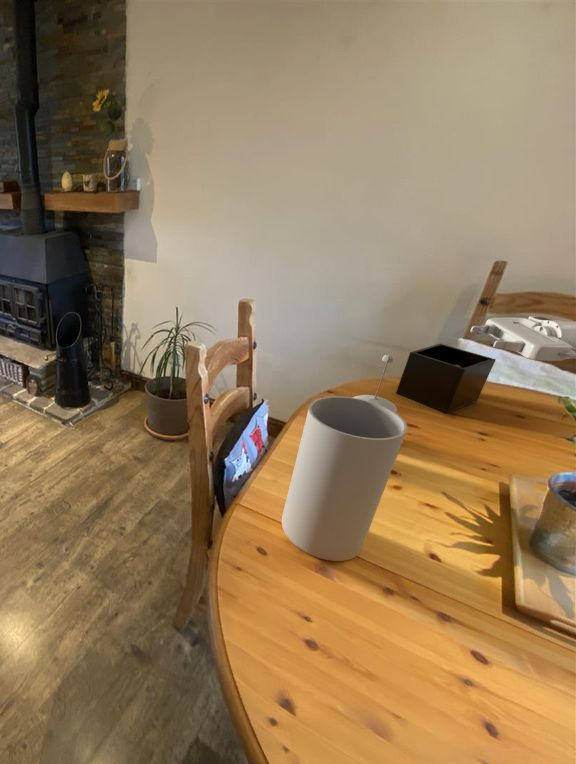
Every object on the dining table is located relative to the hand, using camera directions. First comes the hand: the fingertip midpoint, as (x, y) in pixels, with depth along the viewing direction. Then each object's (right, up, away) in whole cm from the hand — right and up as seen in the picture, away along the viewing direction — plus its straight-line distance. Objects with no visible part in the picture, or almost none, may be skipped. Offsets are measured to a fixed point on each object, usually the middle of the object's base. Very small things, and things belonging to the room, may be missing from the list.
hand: (482, 336), depth 103 cm
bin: (-4, -16, +9) cm, 19 cm away
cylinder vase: (-59, -39, -29) cm, 76 cm away
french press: (-40, -29, -11) cm, 51 cm away
